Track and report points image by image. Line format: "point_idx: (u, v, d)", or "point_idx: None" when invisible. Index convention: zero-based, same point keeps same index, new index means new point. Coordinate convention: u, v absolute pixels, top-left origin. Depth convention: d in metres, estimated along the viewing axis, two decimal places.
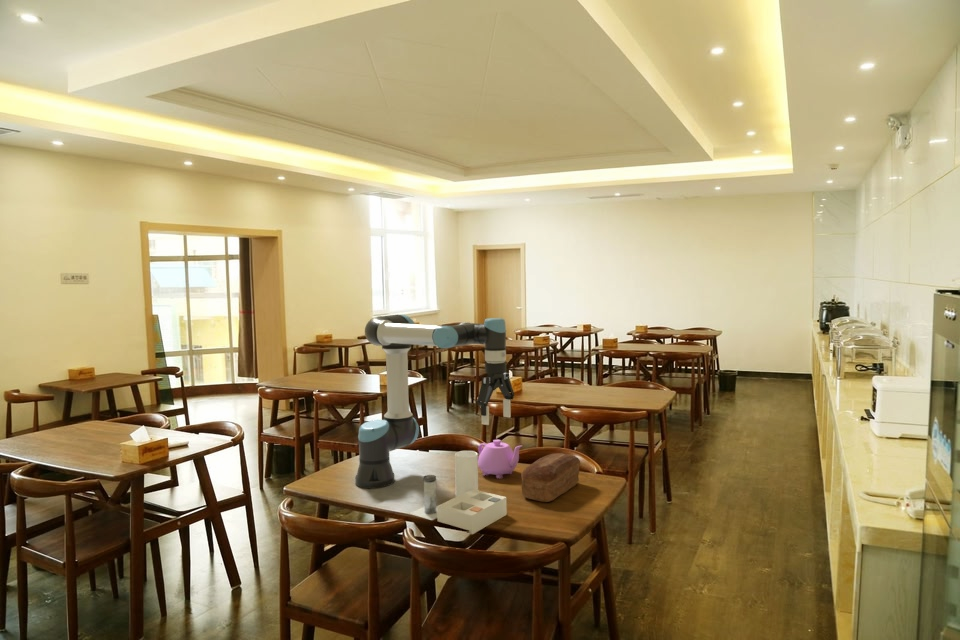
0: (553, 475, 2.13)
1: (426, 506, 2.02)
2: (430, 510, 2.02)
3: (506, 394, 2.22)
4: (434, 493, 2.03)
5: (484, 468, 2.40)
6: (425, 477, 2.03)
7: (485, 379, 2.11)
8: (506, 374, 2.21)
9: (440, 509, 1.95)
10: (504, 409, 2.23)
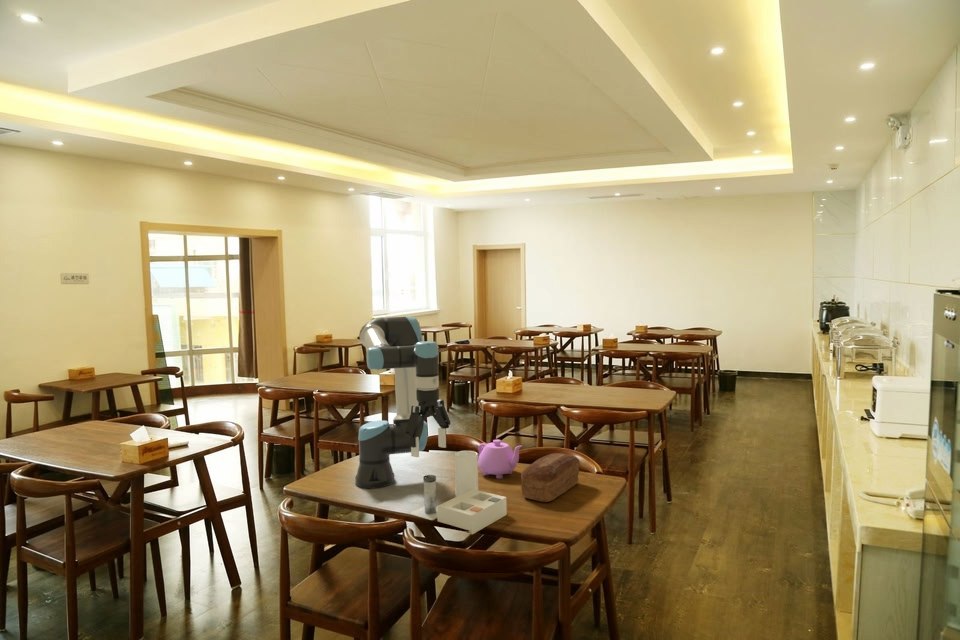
0: (553, 475, 2.13)
1: (426, 506, 2.02)
2: (430, 510, 2.02)
3: (441, 423, 2.06)
4: (434, 493, 2.03)
5: (484, 468, 2.40)
6: (425, 477, 2.03)
7: (414, 408, 1.96)
8: (440, 401, 2.06)
9: (440, 509, 1.95)
10: (439, 438, 2.08)
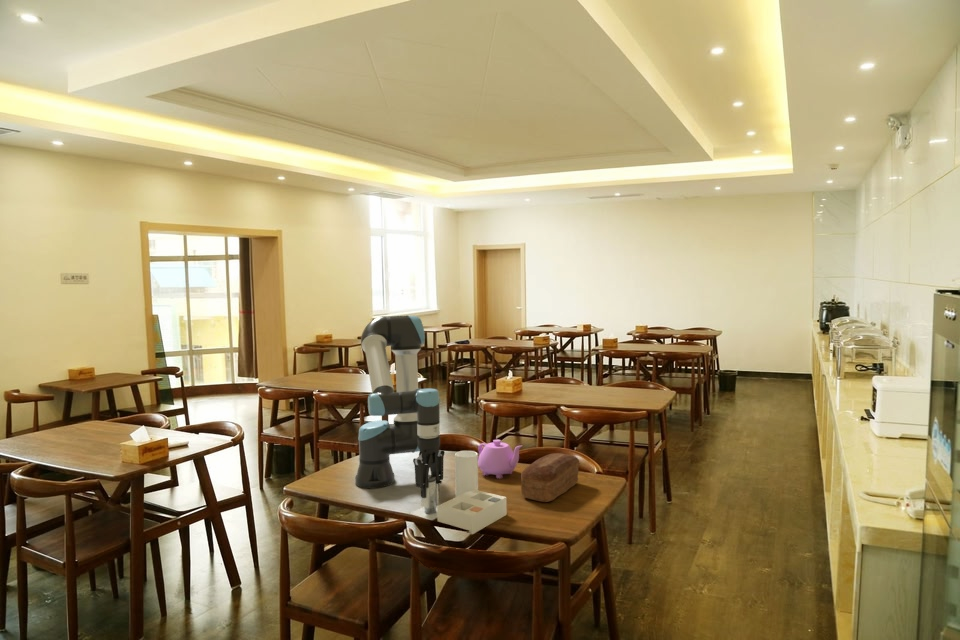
0: (553, 475, 2.13)
1: None
2: (430, 510, 2.02)
3: (435, 475, 2.05)
4: (434, 493, 2.03)
5: (484, 468, 2.40)
6: None
7: (416, 462, 1.98)
8: (441, 451, 2.07)
9: (440, 509, 1.95)
10: None
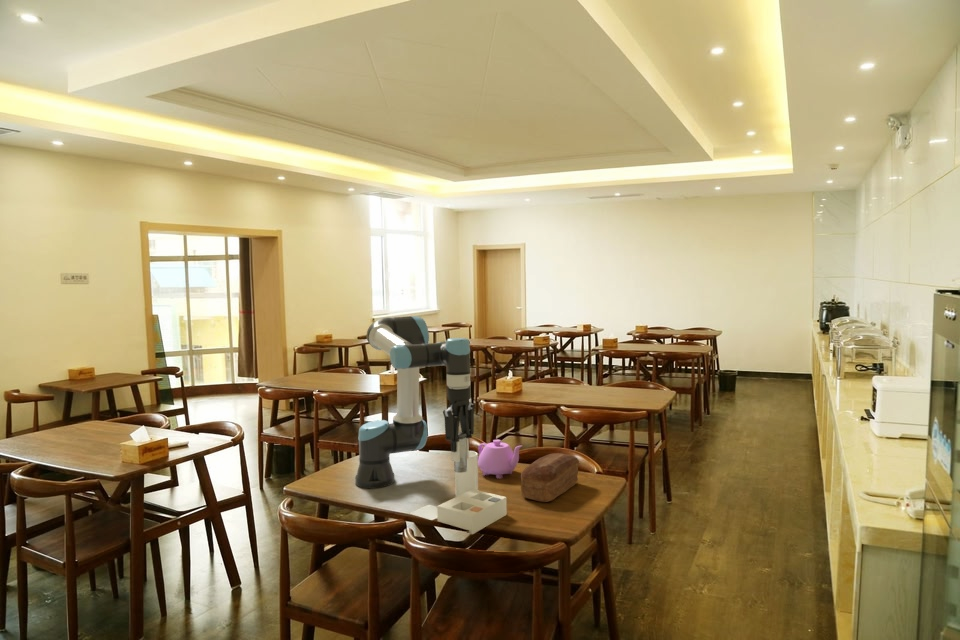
0: (553, 475, 2.13)
1: (456, 464, 1.93)
2: (460, 468, 1.93)
3: (465, 429, 1.95)
4: (465, 450, 1.93)
5: (484, 468, 2.40)
6: None
7: (446, 413, 1.88)
8: (471, 404, 1.98)
9: (440, 509, 1.95)
10: None
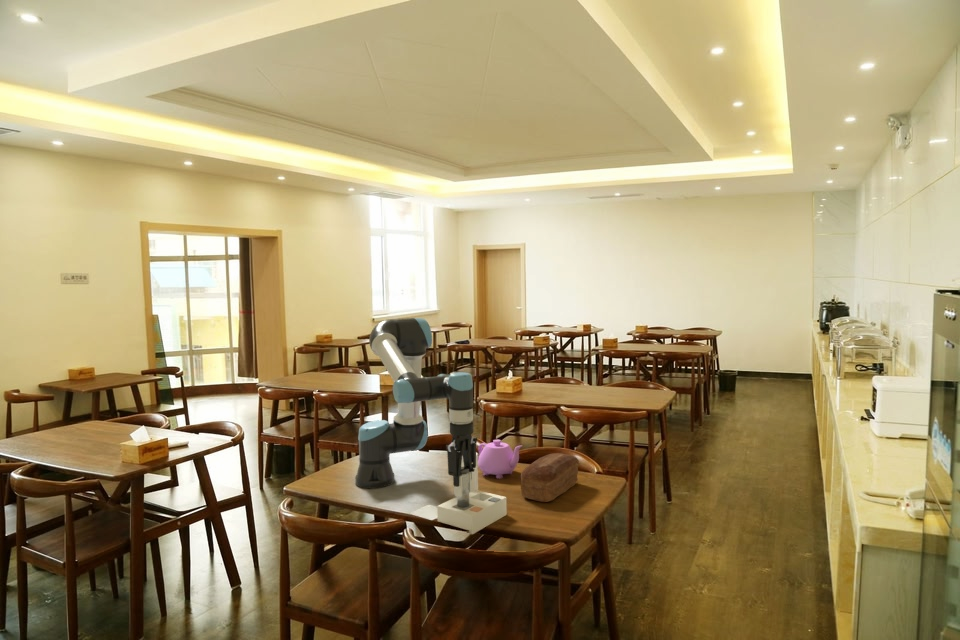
0: (553, 475, 2.13)
1: (459, 499, 1.94)
2: (463, 503, 1.93)
3: (468, 463, 1.96)
4: (467, 485, 1.94)
5: (484, 468, 2.40)
6: None
7: (449, 448, 1.89)
8: (474, 438, 1.98)
9: (440, 509, 1.95)
10: None
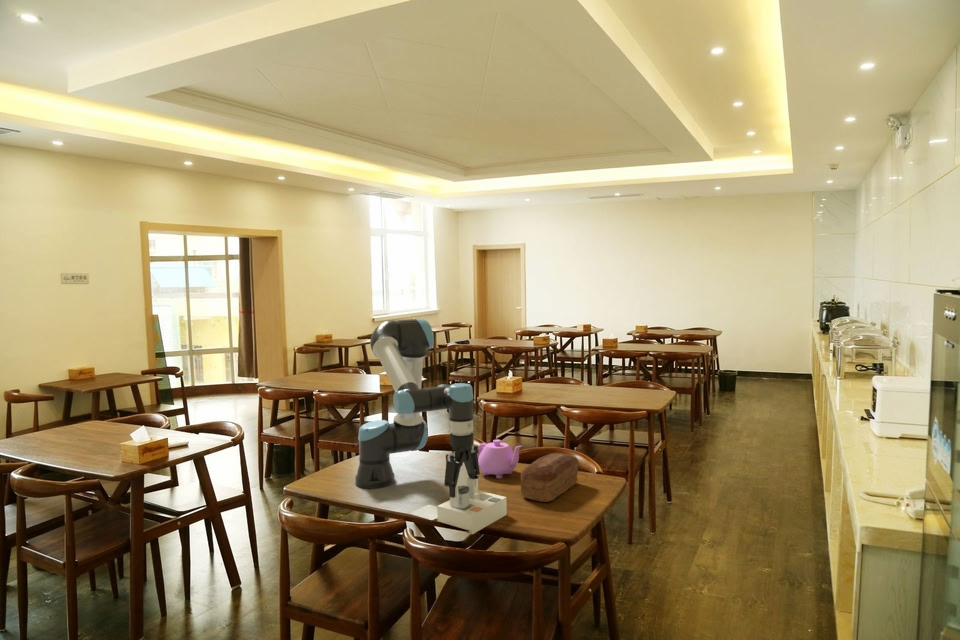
0: (553, 475, 2.13)
1: None
2: None
3: (471, 471, 1.98)
4: (467, 505, 1.94)
5: (484, 468, 2.40)
6: (458, 488, 1.95)
7: (449, 457, 1.89)
8: (474, 447, 1.98)
9: (440, 509, 1.95)
10: None
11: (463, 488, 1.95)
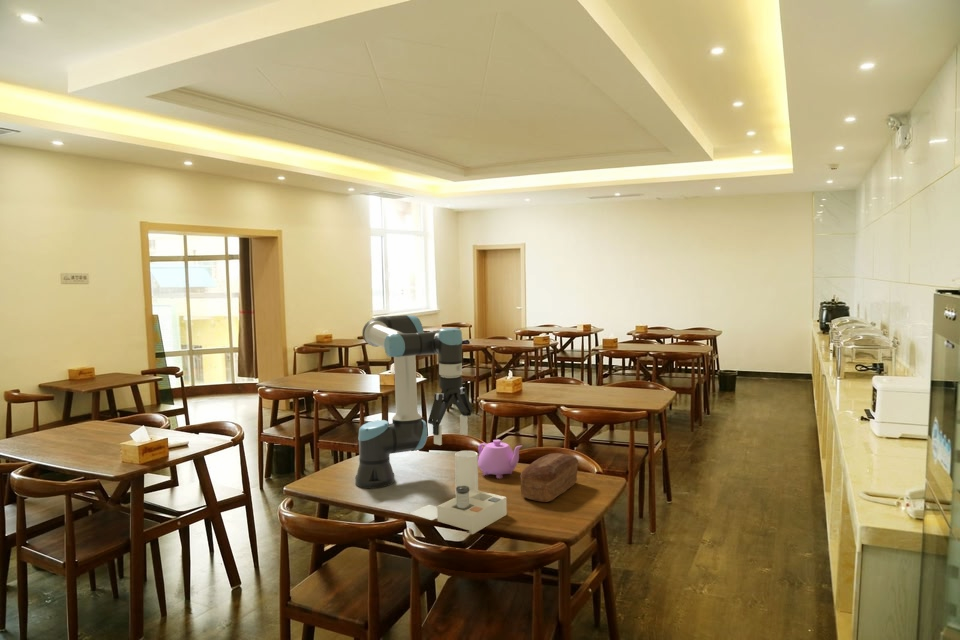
0: (552, 475, 2.13)
1: None
2: None
3: (463, 410, 2.04)
4: (467, 505, 1.94)
5: (484, 468, 2.40)
6: (458, 488, 1.95)
7: (438, 395, 1.93)
8: (463, 388, 2.03)
9: (440, 509, 1.95)
10: (461, 426, 2.06)
11: (463, 488, 1.95)
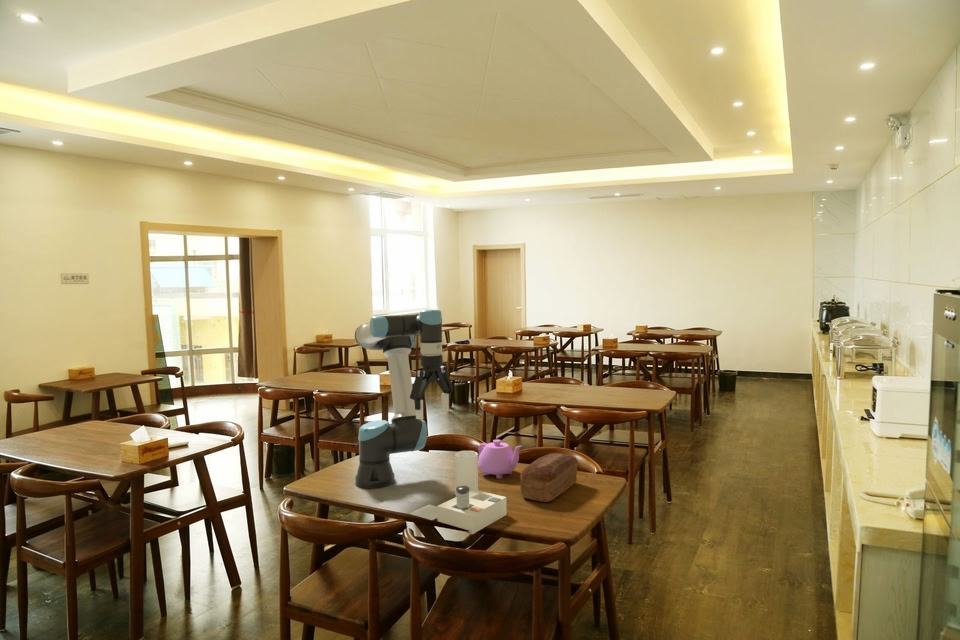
0: (552, 475, 2.13)
1: None
2: None
3: (444, 388, 2.15)
4: (467, 505, 1.94)
5: (484, 468, 2.40)
6: (458, 488, 1.95)
7: (419, 372, 2.05)
8: (444, 367, 2.15)
9: (440, 509, 1.95)
10: (442, 403, 2.17)
11: (463, 488, 1.95)
